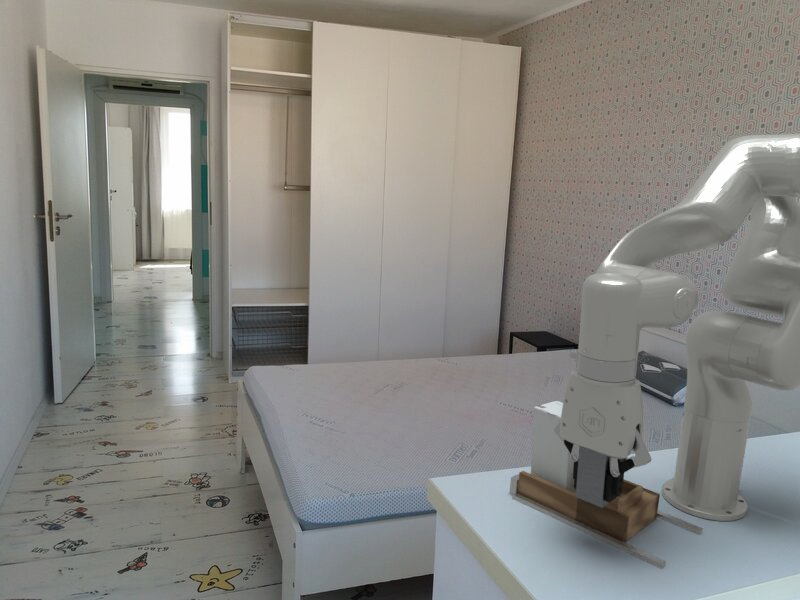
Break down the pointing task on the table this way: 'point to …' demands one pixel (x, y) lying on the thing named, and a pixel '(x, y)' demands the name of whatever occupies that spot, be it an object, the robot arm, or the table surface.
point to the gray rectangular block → (592, 476)
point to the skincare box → (550, 448)
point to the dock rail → (597, 533)
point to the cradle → (612, 519)
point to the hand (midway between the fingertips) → (596, 490)
